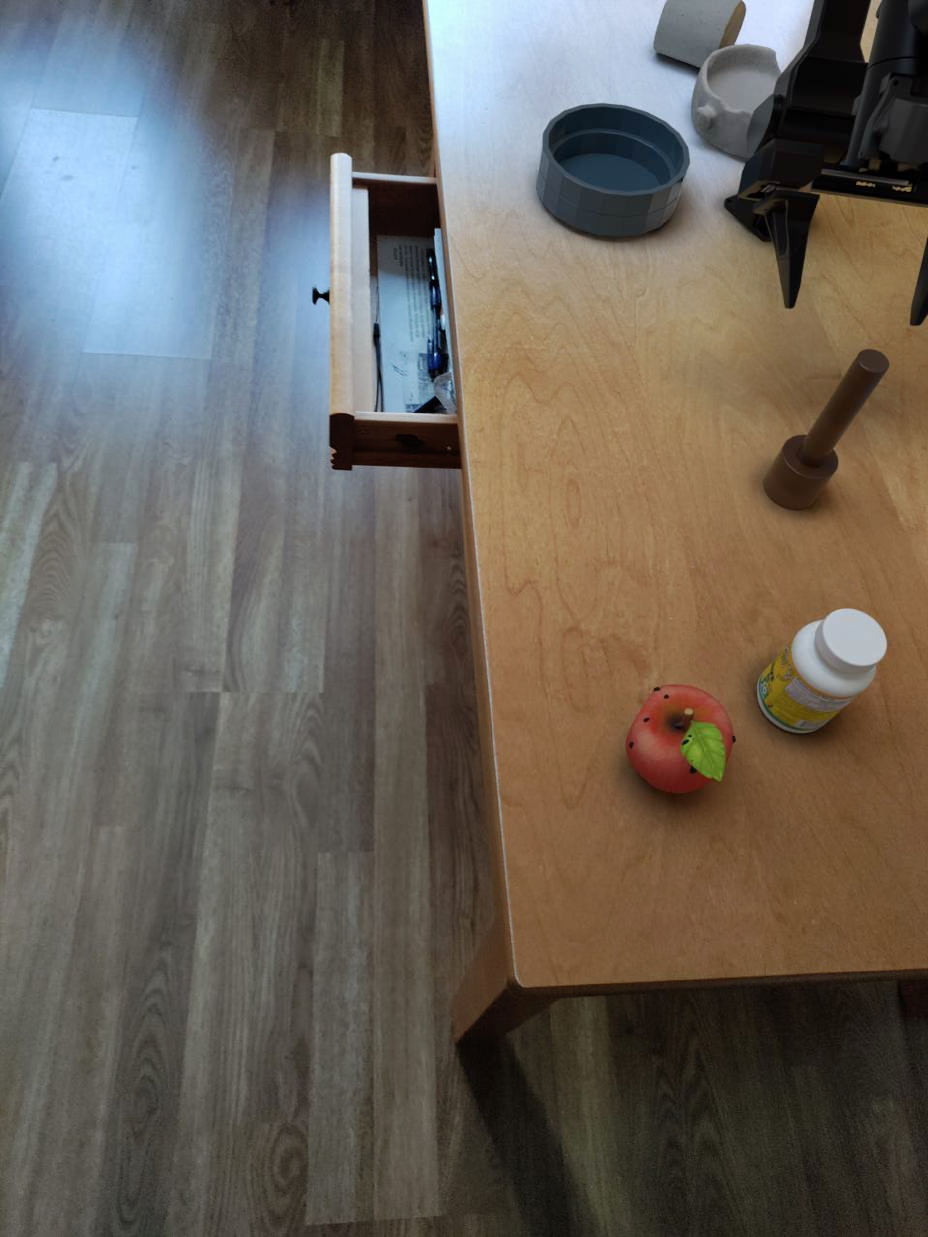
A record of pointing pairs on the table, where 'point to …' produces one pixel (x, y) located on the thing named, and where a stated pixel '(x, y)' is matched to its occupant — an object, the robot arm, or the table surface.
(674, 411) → the table surface
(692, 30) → the ceramic mug
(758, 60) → the dish
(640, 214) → the bowl
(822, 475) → the pestle
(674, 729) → the apple
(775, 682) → the supplement bottle
